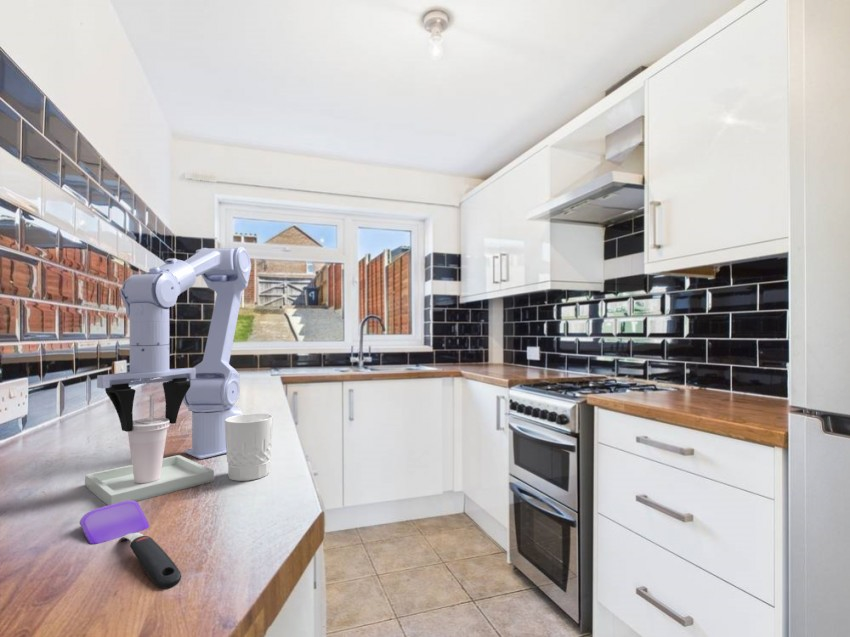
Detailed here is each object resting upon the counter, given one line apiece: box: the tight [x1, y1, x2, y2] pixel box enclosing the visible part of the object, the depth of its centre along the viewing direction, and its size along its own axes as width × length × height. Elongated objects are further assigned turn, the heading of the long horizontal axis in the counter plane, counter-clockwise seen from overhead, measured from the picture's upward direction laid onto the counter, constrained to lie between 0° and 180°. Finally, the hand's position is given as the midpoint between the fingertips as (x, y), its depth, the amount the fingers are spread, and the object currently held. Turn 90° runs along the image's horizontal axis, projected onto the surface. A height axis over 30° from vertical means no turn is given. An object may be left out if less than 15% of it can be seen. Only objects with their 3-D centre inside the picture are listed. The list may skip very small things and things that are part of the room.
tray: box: [84, 454, 215, 506], centre depth 75 cm, size 15×15×2 cm
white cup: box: [225, 413, 274, 482], centre depth 79 cm, size 8×8×10 cm
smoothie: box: [127, 395, 171, 483], centre depth 75 cm, size 6×6×14 cm
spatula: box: [79, 501, 182, 589], centre depth 53 cm, size 24×7×2 cm, turn 48°
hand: (149, 426), depth 75 cm, fingers closed on smoothie, 6 cm apart
